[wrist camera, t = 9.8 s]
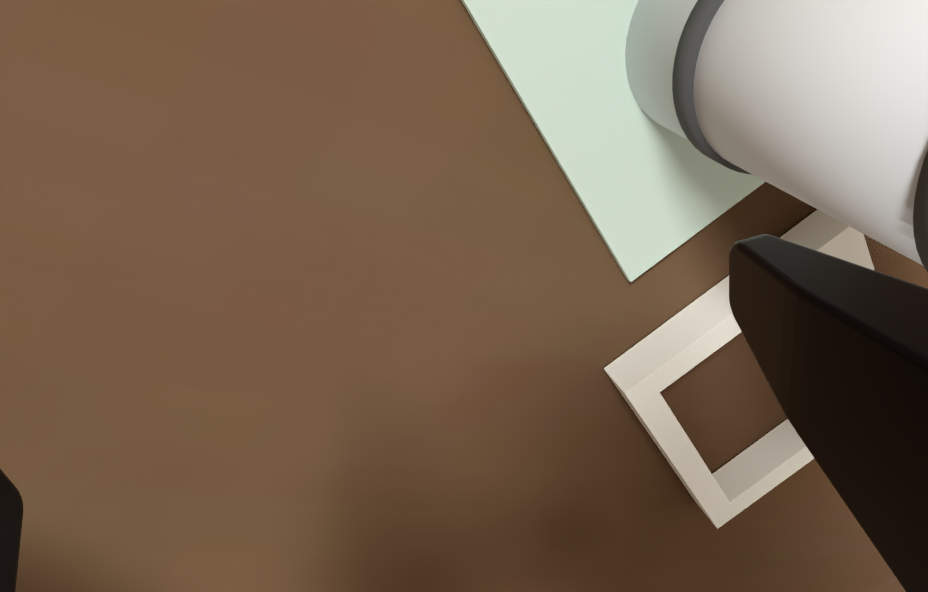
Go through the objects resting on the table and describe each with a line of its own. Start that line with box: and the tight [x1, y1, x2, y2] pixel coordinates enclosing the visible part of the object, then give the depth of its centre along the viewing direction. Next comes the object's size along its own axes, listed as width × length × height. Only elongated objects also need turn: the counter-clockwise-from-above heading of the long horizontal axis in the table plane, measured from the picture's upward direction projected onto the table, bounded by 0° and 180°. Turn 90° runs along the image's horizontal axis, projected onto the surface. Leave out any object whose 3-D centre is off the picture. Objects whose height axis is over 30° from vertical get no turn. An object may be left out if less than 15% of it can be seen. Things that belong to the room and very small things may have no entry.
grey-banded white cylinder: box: [625, 0, 928, 272], centre depth 16 cm, size 6×6×13 cm
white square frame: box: [604, 209, 874, 529], centre depth 29 cm, size 10×10×2 cm
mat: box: [461, 0, 766, 282], centre depth 22 cm, size 11×11×1 cm
